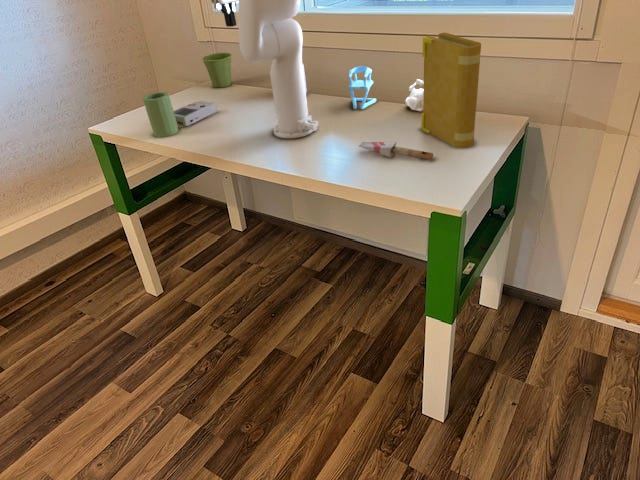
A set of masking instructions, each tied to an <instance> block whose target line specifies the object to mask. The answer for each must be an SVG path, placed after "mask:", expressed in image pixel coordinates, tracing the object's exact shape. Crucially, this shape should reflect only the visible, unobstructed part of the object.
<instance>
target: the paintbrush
mask: <svg viewBox="0 0 640 480" xmlns="http://www.w3.org/2000/svg"><path fill="white" fill-rule="evenodd" d="M358 147H359V148H362V149H364V150H368V151H370V152H373V153H377V154H379V155H382V156H385V157H388V158H393V157H394V155H400V156H406V157H412V158H417V159H425V160H428V161H429V160H430V161H431V160H433V157H434V152H429V151H425V150H418V149H413V148H408V147H407V148H406V147H401V146H397V141H362V142H361V143H360V144H359V145H358Z"/></svg>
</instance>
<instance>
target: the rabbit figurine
mask: <svg viewBox="0 0 640 480" xmlns="http://www.w3.org/2000/svg"><path fill="white" fill-rule="evenodd" d="M416 85H419V86H421V88H419V89H418V88H417V89H416V88H415V87H416ZM408 91H409V92H410V94H409V96H408V97H407V98H405V105H406V106H407V107H409V108H410V110H413V111H417V112H423V91H424V80H423V79H422V80H421V79H419V78H417V79H416V80H415V81H414V83H413V84H412V85H410V86H409V87H408Z"/></svg>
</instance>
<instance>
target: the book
mask: <svg viewBox="0 0 640 480" xmlns="http://www.w3.org/2000/svg"><path fill="white" fill-rule="evenodd" d="M481 51H482V43H481V42H480V41H475V40H473V39H468V38H465V37H461V36H457V35H454V34H453V33H449V32H442V33H441V32H440V33H438V37H435V36H431V35H427V36H422V58H423V81H424V89H423V90H424V91H423V111H422V112H421V127H420V128H421V129H420V130H421V131H423V132H424V133H426V134H428V135H432V136H434V137H436V138H438V139H439V140H441V141H443V142H445V143H446V144H449V145H450V146H452V147H454V148H458V149H459V148H460V149H464V148H465V149H466V148H470V147H472V146H473V145H474V142H475V141H474V140H475V129H476V128H475V127H476V117H477V116H476V115H477V104H478V103H477V101H478V92H479V91H478V90H479V79H480V78H479V76H480V63H481Z"/></svg>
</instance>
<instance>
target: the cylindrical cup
mask: <svg viewBox="0 0 640 480" xmlns="http://www.w3.org/2000/svg"><path fill="white" fill-rule="evenodd" d="M142 101H143V104H144V107H145V111H146V114H147V117H148V120H149V123H150V127H151V130H152V132H153V133H152V134H153V135H154V137H158V138H166V137H170V136H173V135H175V134H177V133H178V132H179V126H178V121H176V118H175V115H174V111H175V110H174V108H173V105H172V104H173V103H172V100H171V97H170V94H169V93H168V92H167V91H156V92H151V93H149V94H146V95H144V96H143V97H142Z"/></svg>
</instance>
